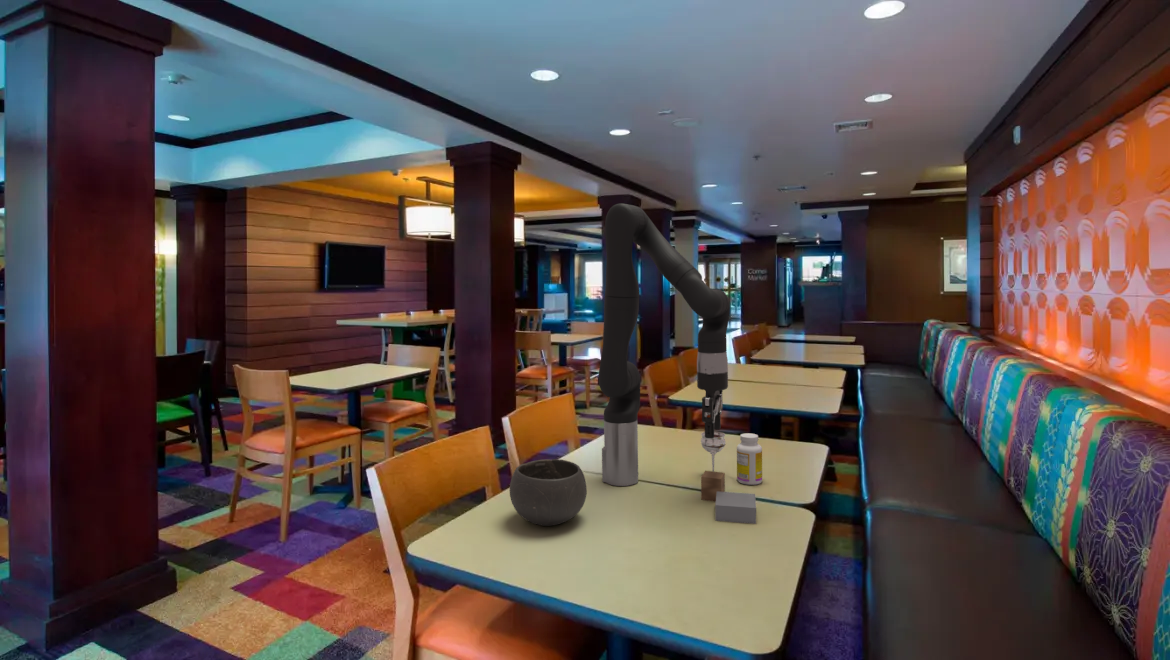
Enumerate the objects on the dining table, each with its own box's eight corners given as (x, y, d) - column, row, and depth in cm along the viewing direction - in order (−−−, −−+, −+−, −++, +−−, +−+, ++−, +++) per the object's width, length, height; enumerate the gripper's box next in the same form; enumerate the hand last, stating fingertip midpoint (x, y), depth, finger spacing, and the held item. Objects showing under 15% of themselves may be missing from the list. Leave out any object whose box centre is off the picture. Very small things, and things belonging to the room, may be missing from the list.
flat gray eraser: (715, 521, 137) (715, 505, 137) (716, 507, 146) (716, 491, 146) (756, 525, 135) (756, 508, 135) (754, 510, 144) (755, 493, 143)
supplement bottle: (759, 477, 165) (759, 432, 164) (764, 485, 159) (764, 438, 158) (735, 477, 166) (735, 432, 165) (738, 485, 159) (738, 438, 158)
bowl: (543, 500, 152) (542, 452, 151) (602, 515, 141) (601, 463, 140) (494, 525, 137) (492, 471, 136) (556, 543, 127) (554, 486, 126)
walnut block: (701, 499, 150) (701, 476, 150) (705, 493, 155) (705, 470, 154) (721, 502, 148) (721, 479, 148) (724, 495, 153) (724, 472, 152)
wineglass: (707, 470, 172) (706, 430, 171) (729, 475, 168) (729, 433, 167) (696, 477, 166) (696, 435, 165) (719, 482, 162) (719, 438, 161)
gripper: (703, 365, 157) (703, 425, 158) (691, 373, 143) (691, 439, 145) (732, 366, 154) (732, 427, 155) (722, 374, 141) (723, 442, 142)
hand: (712, 433), depth 150 cm, fingers open, 8 cm apart
